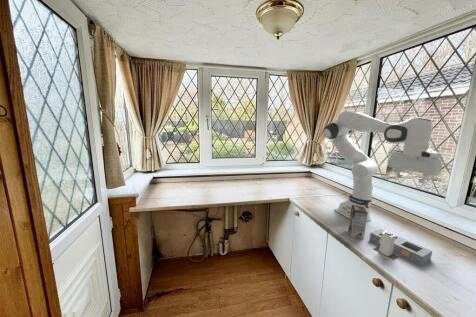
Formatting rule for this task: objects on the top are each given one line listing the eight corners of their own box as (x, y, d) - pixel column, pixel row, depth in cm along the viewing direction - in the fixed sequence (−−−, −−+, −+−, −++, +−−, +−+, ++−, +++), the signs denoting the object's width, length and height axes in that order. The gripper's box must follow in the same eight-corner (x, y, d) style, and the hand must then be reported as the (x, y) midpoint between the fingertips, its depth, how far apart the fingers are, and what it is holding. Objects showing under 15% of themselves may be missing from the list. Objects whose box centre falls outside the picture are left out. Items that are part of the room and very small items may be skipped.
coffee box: (347, 230, 118) (351, 204, 116) (360, 232, 116) (364, 206, 114) (350, 237, 110) (354, 210, 107) (363, 240, 108) (368, 212, 105)
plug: (378, 251, 97) (382, 231, 96) (383, 249, 99) (386, 229, 98) (387, 256, 94) (391, 235, 92) (392, 254, 96) (396, 233, 94)
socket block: (368, 241, 107) (370, 232, 106) (379, 236, 112) (380, 228, 111) (420, 267, 88) (422, 257, 87) (430, 260, 93) (432, 251, 92)
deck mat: (372, 250, 99) (372, 249, 99) (378, 247, 102) (378, 246, 102) (393, 261, 92) (393, 259, 91) (398, 258, 94) (398, 257, 94)
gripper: (387, 149, 103) (383, 175, 105) (437, 155, 84) (431, 186, 86) (395, 149, 105) (391, 174, 107) (446, 154, 86) (440, 185, 88)
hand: (409, 180), depth 96 cm, fingers open, 8 cm apart
